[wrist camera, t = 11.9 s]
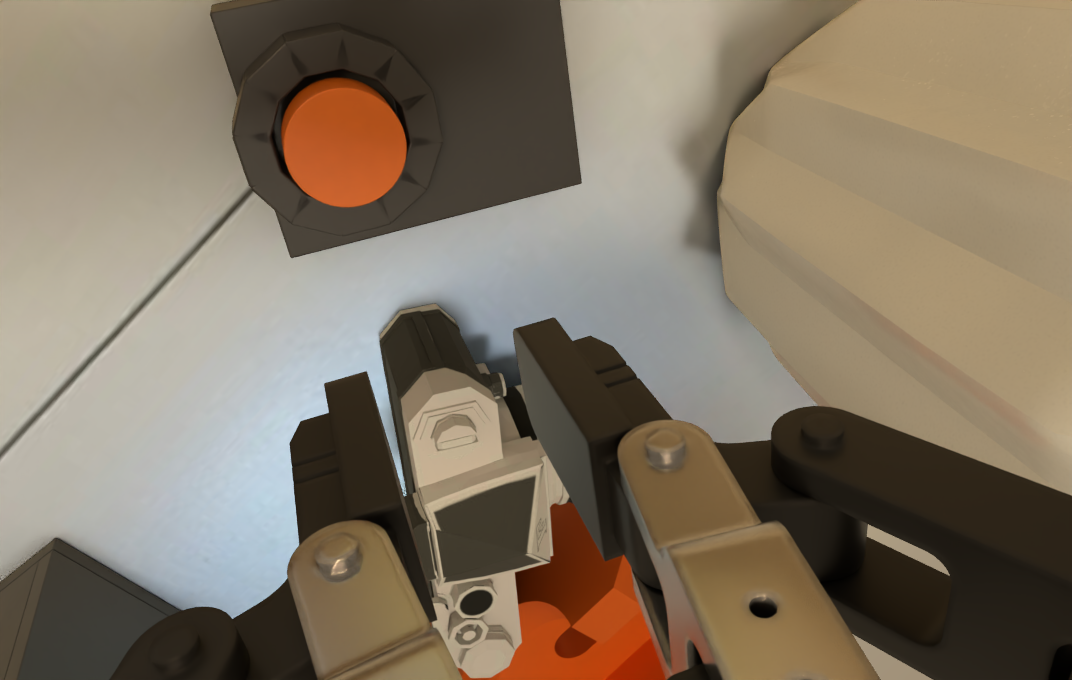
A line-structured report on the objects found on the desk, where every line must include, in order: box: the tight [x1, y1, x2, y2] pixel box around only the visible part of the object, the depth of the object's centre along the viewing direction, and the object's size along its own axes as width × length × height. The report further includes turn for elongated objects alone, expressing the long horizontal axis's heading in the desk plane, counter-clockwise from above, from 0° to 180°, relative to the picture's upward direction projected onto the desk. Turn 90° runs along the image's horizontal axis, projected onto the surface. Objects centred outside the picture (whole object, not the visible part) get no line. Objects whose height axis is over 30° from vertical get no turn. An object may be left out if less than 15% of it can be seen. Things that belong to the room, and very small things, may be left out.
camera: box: [380, 304, 573, 678], centre depth 37 cm, size 16×9×10 cm, turn 4°
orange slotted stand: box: [430, 502, 666, 680], centre depth 44 cm, size 18×13×8 cm
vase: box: [717, 0, 1072, 495], centre depth 28 cm, size 20×20×28 cm
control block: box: [210, 0, 581, 258], centre depth 31 cm, size 12×9×4 cm
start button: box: [281, 78, 407, 207], centre depth 28 cm, size 4×4×2 cm
